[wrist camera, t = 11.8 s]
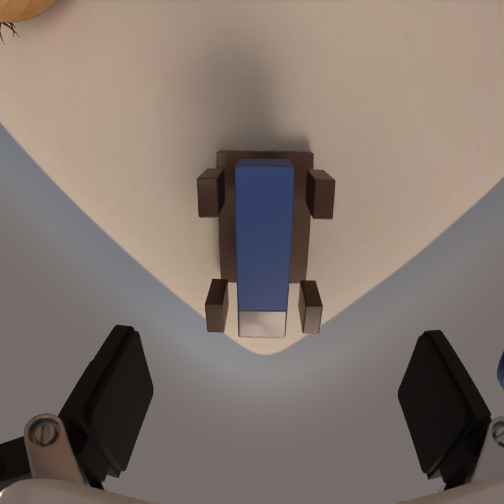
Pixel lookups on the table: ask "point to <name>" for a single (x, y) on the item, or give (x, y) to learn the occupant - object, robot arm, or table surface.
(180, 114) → the table surface
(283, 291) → the blue eraser block
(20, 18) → the sculpture
